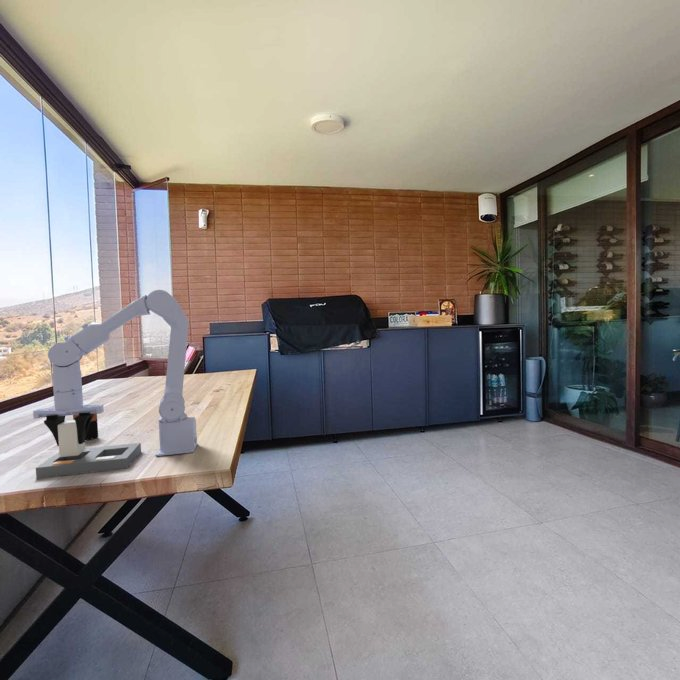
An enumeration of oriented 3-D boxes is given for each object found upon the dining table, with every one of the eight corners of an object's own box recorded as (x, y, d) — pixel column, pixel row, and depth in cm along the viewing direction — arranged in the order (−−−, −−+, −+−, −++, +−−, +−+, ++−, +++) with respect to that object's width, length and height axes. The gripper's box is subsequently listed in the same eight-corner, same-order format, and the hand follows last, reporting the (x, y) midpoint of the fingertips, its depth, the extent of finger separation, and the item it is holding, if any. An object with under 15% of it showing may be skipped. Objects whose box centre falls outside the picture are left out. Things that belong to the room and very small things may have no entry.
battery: (89, 434, 119) (87, 404, 118) (99, 437, 115) (97, 406, 114) (73, 438, 115) (71, 407, 114) (83, 441, 111) (81, 409, 111)
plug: (85, 449, 94) (83, 419, 94) (78, 455, 90) (76, 423, 90) (67, 451, 93) (65, 420, 93) (59, 457, 89) (57, 425, 89)
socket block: (141, 451, 101) (140, 442, 100) (127, 468, 89) (126, 457, 89) (62, 459, 96) (61, 449, 96) (36, 478, 84) (35, 467, 84)
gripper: (24, 395, 85) (28, 452, 85) (94, 390, 88) (97, 445, 89) (41, 390, 92) (44, 443, 92) (105, 386, 95) (108, 437, 96)
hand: (71, 443), depth 91 cm, fingers closed on plug, 4 cm apart
